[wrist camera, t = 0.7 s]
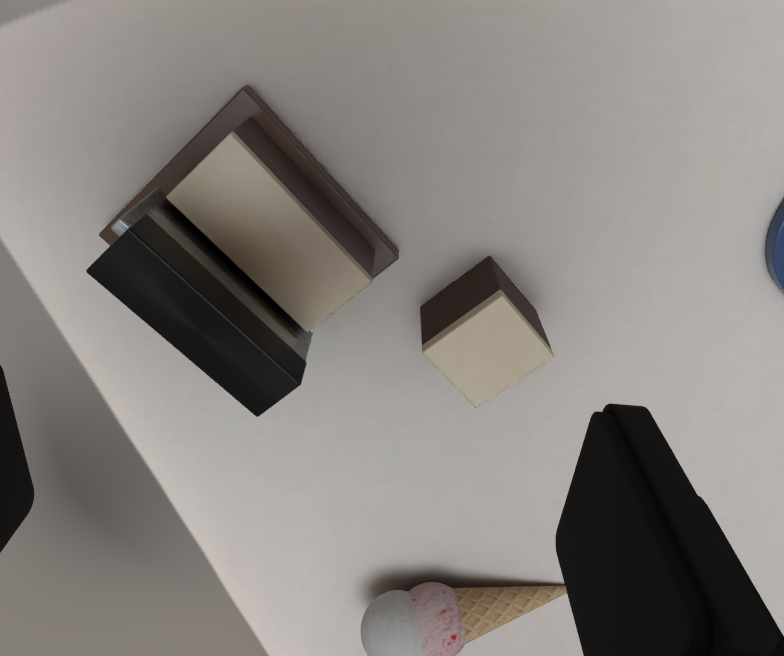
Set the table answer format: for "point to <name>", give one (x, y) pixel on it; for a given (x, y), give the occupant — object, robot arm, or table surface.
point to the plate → (776, 248)
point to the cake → (273, 211)
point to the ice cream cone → (444, 617)
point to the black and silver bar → (203, 303)
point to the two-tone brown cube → (483, 333)
